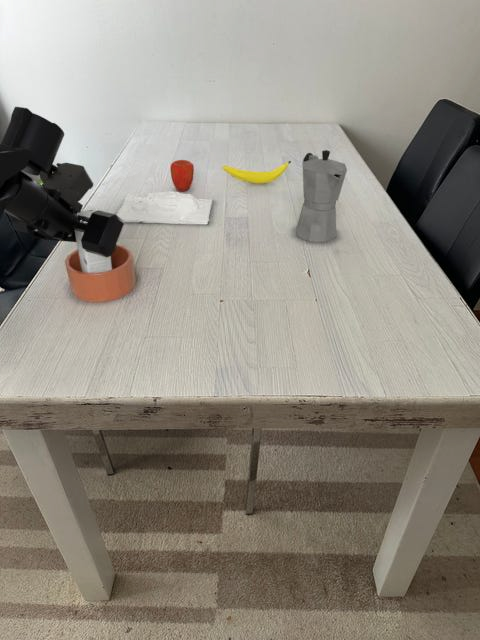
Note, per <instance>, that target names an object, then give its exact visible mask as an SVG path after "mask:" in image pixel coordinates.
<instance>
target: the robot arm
mask: <svg viewBox="0 0 480 640" xmlns="http://www.w3.org/2000/svg"><path fill="white" fill-rule="evenodd" d="M11 112H12V113H11V116H10V121H9V123H8V126H7V128H6V131H5V133H4V135H3V137H2V140H1V142H0V220H1V219H2V217H3V215H4V212H5V213H6V214H8V215H10V216H12V218H11V219H10V223H11V226H12V229H13V230H14V231H16V232H19V233H21V234H22V235H27V236H30V237H34V238H37V239H41V240H44V241H56V242H68V243H77V242H76V236H75V231H74V230H76V231H80V232H84V234H83V236H82V239H81V243H82V248H83V249H85V250H86V252H90V253H93V254H97V255H100V256H104V257H107V258H108V257H109V256H111V255H112V253H113V252H115V250H116V248H117V245H118V241H119V238H120V235H121V233H122V231H123V227H124V225H125V222H123V220H122V219H121V218H120V217H118V216H117V213H112V212H107V211H103V210H99V209H96V210H97V211H95V212H93V213H92V214H91V216H90V218H89V217H85V216H81V215H77V213H80V212H81V211H82V209H83V207H84V205H83V204H82V203H80V201H81V200H82V199H83V198H84V196H85V195H86V194H87V193H88V191H89V190H92V188H93V187H94V181H93V179H92V178H91V176H90V174H89V173H88V171H87V170H86V168H85V166H83V165H81V164H75V163H71V162H62V163H60V162H57V163H56V164H54V161H55V160H56V156H57V154H58V152H59V149H60V147H61V144H62V141H63V139H64V137H65V132H64V130H63V129H62V127H60V126H59V125H58V124H57V123H56V122H51V121H50V120H48V119H47V118H45V117H43V116H41V115H39V114H37V113H33V111H31V110H30V109H29V108H28V107H23V106H14V108H13V110H12V111H11ZM26 173H27V174H26ZM28 174H29V175H32V176H35V177H36V176H37V177H38V176H39V179H40V181H41V183H42V184H41V183H40V182H38V181H37V180H35V179H34V178H32V177H31V176H29V175H28ZM80 222H81V223H80ZM84 223H85V224H84ZM116 244H117V245H116Z"/></svg>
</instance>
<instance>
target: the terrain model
mask: <svg viewBox="0 0 480 640" xmlns="http://www.w3.org/2000/svg"><path fill="white" fill-rule="evenodd" d="M212 205H213V199H210V198H209V199H208V198H197V197H196V196H194V195H193V194H188V193H187V194H185V193H181V192H180V191H159V192H149V193H148V194H147V195H144V196H137V195H136V194H133V193H128V194H127V195H126V196H125V198H124V201H123V203H122V205H121V207H120V209H118V211H117V213H116V215H117V216H118V217H120V218H121V219H122V220H123V222H124V223H142V224H143V223H144V224H171V225H172V224H175V225H176V224H177V225H208V224H209V222H210V215H211V210H212Z"/></svg>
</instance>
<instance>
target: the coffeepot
mask: <svg viewBox="0 0 480 640" xmlns="http://www.w3.org/2000/svg"><path fill="white" fill-rule="evenodd" d="M321 154H322V155H321V157H322V158H319V156H318V155H316V154H313V153H311V152H307V153H306V154H305V156H304V157H303V159H302V162H301V163H302V164H301V165H302V187H303V203H302V205H301V210H300V213H299V216H298V220H297V223H296V224H297V225H296V227H295V229H296V231H295V232H296V237H298V238H299V239H301V240H303V241H306V242H310V243H314V244H315V243H316V244H317V243H318V244H319V243H328V242H331V241H333V240H334V239H335V238H337V212H336V211H337V210H336V204H337V201H339V198H340V194H341V191H342V188H343V185H344V181H345V178H346V176H347V175H346V174H347V171H348V168H347V165H346V163H344V162H341V161H337V160H334V159H330V158H329V157H330V154H331V151H330V150H328V149H324V150H322V151H321Z"/></svg>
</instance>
